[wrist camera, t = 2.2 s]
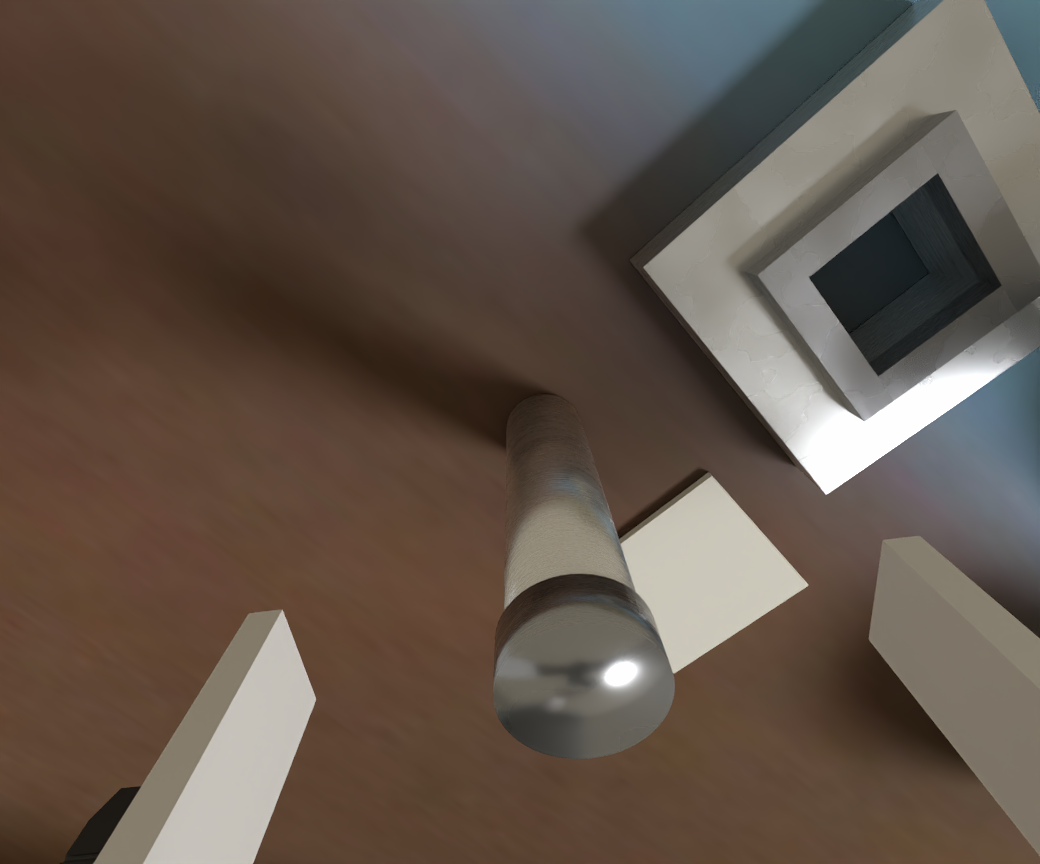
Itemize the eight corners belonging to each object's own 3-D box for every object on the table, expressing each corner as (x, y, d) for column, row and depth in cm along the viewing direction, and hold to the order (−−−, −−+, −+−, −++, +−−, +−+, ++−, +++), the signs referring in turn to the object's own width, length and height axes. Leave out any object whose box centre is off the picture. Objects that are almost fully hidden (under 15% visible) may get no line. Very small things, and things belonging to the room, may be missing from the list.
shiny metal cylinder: (540, 482, 25) (573, 783, 12) (484, 427, 24) (455, 692, 11) (603, 431, 24) (710, 697, 11) (547, 372, 23) (596, 590, 10)
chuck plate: (797, 467, 25) (839, 506, 22) (628, 260, 22) (649, 270, 18) (1060, 278, 22) (1154, 292, 19) (914, 2, 19) (1000, -39, 15)
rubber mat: (672, 667, 29) (673, 673, 29) (571, 574, 27) (572, 579, 27) (804, 580, 27) (808, 585, 27) (708, 471, 25) (711, 475, 25)
